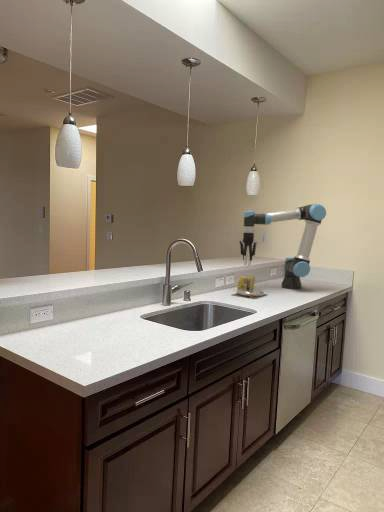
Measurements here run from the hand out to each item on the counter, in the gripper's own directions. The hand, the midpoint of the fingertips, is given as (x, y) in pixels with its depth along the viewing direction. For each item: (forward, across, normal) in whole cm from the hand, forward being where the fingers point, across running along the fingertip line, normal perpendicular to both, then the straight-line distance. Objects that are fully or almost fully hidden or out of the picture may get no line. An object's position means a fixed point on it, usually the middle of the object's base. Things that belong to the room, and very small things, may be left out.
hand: (247, 264), depth 281 cm
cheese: (+19, 0, 0) cm, 19 cm away
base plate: (+19, +11, -16) cm, 26 cm away
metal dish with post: (+19, +11, -15) cm, 26 cm away
